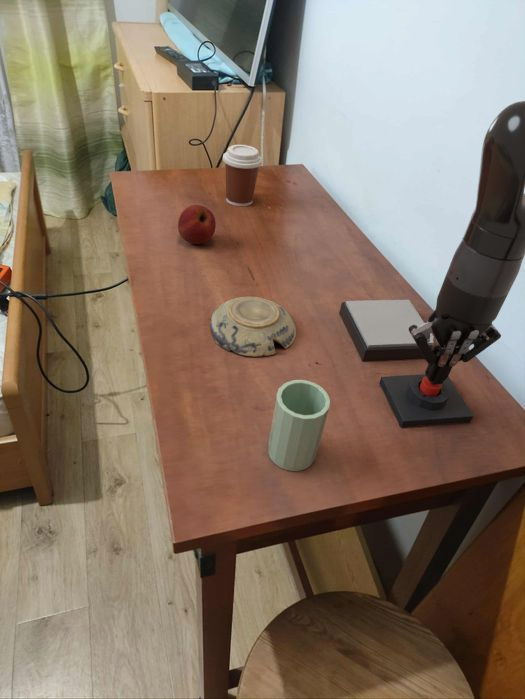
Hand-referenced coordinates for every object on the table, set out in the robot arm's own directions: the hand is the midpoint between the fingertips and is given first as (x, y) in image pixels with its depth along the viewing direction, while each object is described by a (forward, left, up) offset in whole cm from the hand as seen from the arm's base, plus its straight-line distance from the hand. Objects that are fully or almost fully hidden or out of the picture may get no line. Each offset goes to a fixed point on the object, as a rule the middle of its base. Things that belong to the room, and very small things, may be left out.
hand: (434, 380), depth 73 cm
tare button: (0, 0, -2) cm, 2 cm away
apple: (+30, -48, -5) cm, 57 cm away
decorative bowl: (+23, -19, -5) cm, 30 cm away
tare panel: (0, 0, -5) cm, 5 cm away
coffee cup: (+18, -68, -5) cm, 71 cm away
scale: (0, -16, -5) cm, 17 cm away
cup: (+22, +7, -5) cm, 24 cm away
